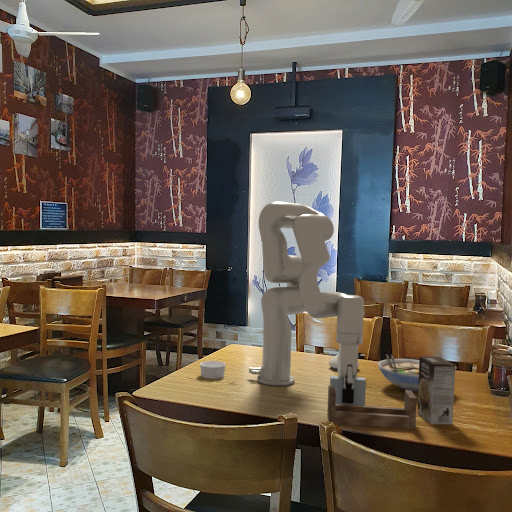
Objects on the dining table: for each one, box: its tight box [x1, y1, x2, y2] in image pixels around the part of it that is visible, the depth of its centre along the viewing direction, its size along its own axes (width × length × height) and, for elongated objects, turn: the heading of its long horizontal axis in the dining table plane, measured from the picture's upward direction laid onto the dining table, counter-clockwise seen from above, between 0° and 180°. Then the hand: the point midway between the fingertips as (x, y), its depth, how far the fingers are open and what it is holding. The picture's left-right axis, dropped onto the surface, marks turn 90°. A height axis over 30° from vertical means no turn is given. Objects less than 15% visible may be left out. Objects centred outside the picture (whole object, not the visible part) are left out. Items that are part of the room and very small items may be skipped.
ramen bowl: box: [377, 354, 419, 393], centre depth 166 cm, size 25×23×8 cm
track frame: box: [327, 384, 418, 430], centre depth 133 cm, size 22×7×8 cm, turn 84°
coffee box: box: [416, 355, 456, 425], centre depth 137 cm, size 9×6×16 cm
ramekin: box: [199, 360, 227, 380], centre depth 174 cm, size 9×9×4 cm
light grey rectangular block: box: [329, 375, 367, 406], centre depth 146 cm, size 10×3×8 cm, turn 84°
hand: (347, 400), depth 146 cm, fingers open, 3 cm apart
